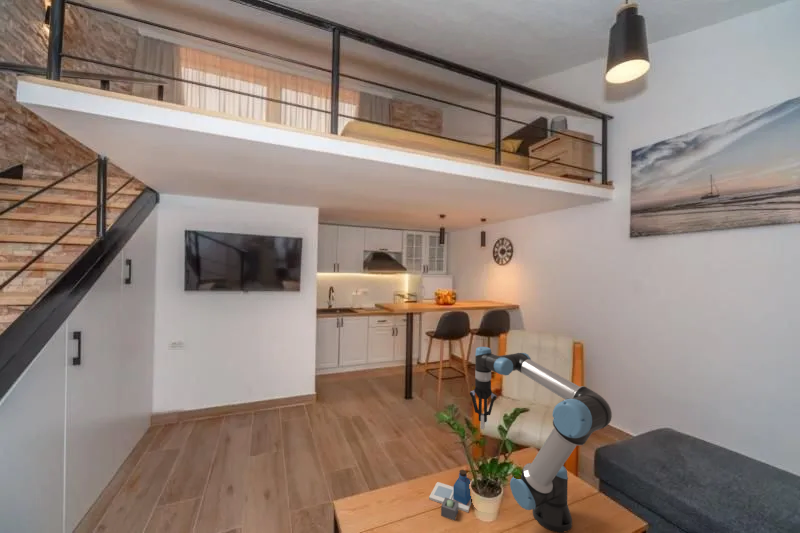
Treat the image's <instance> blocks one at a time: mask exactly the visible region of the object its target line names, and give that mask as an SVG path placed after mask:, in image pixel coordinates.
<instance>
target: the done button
mask: <svg viewBox="0 0 800 533" xmlns="http://www.w3.org/2000/svg"><path fill="white" fill-rule="evenodd" d="M447 506H448V507H451V508H453V501H452V500H447Z"/></svg>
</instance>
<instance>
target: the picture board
mask: <svg viewBox="0 0 800 533" xmlns="http://www.w3.org/2000/svg"><path fill="white" fill-rule="evenodd" d="M453 492H454V486H453V485H452V486H451V485H449V484H447V483H443V482H440V481H437V482H436V483H435V485H434V487H433V489H432V491H431V493H430V495H429V496H428V500H430V501H433V502H435V503H439V504H441V505H442V504H443V501H444V499H445V497H446V498H449V499H452V500H454V499H453ZM455 501H456V500H455ZM471 505H472V502H471V499H470V501H469V502H468V503H467V505H464V504H462V503H460V502H459V508H458V511H462V512H464V513H469V511H470V507H471Z"/></svg>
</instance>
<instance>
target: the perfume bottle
mask: <svg viewBox="0 0 800 533" xmlns="http://www.w3.org/2000/svg"><path fill="white" fill-rule="evenodd" d="M467 476H468V474H467V471H466V469H460V470H459V473H458V477H457V478H456V480H455V482H454V484H453V487H454V492H453V499H454V500H456V501H458V502H460V503H462V504H464V505H467V503H468V502H469V501H470V499H471V496H470V489H469V484H470V482H471V480H470V478H468V477H467Z"/></svg>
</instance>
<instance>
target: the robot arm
mask: <svg viewBox="0 0 800 533" xmlns="http://www.w3.org/2000/svg"><path fill="white" fill-rule="evenodd" d="M474 356H475V358H474V359H475V363H474V364H475V368H474V372H475V374H474V375H475V376H474V377H475V379H474V381H475V382H474V383H475V384H474V389H473V390H470V392H469V395H470V397H471V400H472V406H473V409H474V410H473V411H474V413H475V414H478V421H479V422H480V429H481V430H485V428H486V427H485V425H486V423H487V421H488V416H490V415H491V413H492V409H493V407H494V401H495V400H496V399H497V394H494V393H493V390H492V372H495V373H497V374H498V375H502V376H510V374H512V372H514V371H517V372H520V373H521V374H522V375H525V376H526V377H528V378H530V379H531V380H533V381H534V382H536V383H538V385H541V386H542V387H544V388H545V389H547V390H549V391H550V392H552V393H553V394H555V395H557V396H559V397H560V398H562V399H563V400H562V401H560V402H558V403H557V404H556V405H555V406H554V408H553V411H552V417H553V419H552V426H553V429H552V430H551V432H550V434H549V435H548V436H547V438H546V439H545V442H544V443H543V445H542V446H541V447H540V449H539V451H538V452H537V454H535V455H536V456H535V457H534V459H533V460H532V462H528V463H526V464H525V465H524V466H523V468H522V469H521V471H522V475H521V479H516V478H514V476H513V477H511V478H510V481H509V487H510V490H511V494H512V496H513V498H514V500H515V502H516V503H517V504H518V506H520V507H521V508H522V509H524V510H526V511H532V516H533V518H534V520H535V521H536V520H537V521H538V522H539V523H538V522H537V521H536V522H537V523H538V524H539V525H540V526H542V527H543V526H544V527H543V528H546V529H547V530H550V531H552V530H553V531H552V532H555V531H557V532H556V533H565V532H564V531H567V532H568V530H569V531H570V530H571V529H572V527H573V519H572V518H573V517H572V515H571V512H570V508H569V504H568V484H569V483H568V479H569V477H568V470H567V468H566V467H565V466H564V465H565V463H566V462H567V460H568V459H569V457H570V456H571V454H572V453H573V451H574V450H575V449H576V447H577V446H583V445H584V444H586V442H587V441H588V440H589V438H590V437H591V436H592V434H593V433H594V432H597V431H599V430H601V429H604V428H606V427H607V426H608V425H610V423H611V421H612V418H613V413H612V409H611V406H610V404H609V403H608V401H607V400H606V399H605V398H604V396H602V395H600V394H599V393H597V392H596V391H594V390H592V389H590V388H588V387H587V386H584V385H582V386H579V385H578V384H576V383H574V382H572V381H570V380H569V379H567V378H565V377H563V376H561V375H559V374H558V373H556V372H553V371H552V370H550V369H548V368H546V367H545V366H543V365H541V364H539V363H537V362H535V361H533V360H532V359H531V358H532V357H531V356H529V354H527V353H526V352H516V353H510V354H503V355H497V354H493V351H492V348H490V347H489V346H488V347H487V346H478V347H476V348H475V355H474ZM476 396H477V398H478V403H477V398H476ZM489 398H491V399H490V400H491V401H490V403H489V404H490V405H489V408H488V399H489Z"/></svg>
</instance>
